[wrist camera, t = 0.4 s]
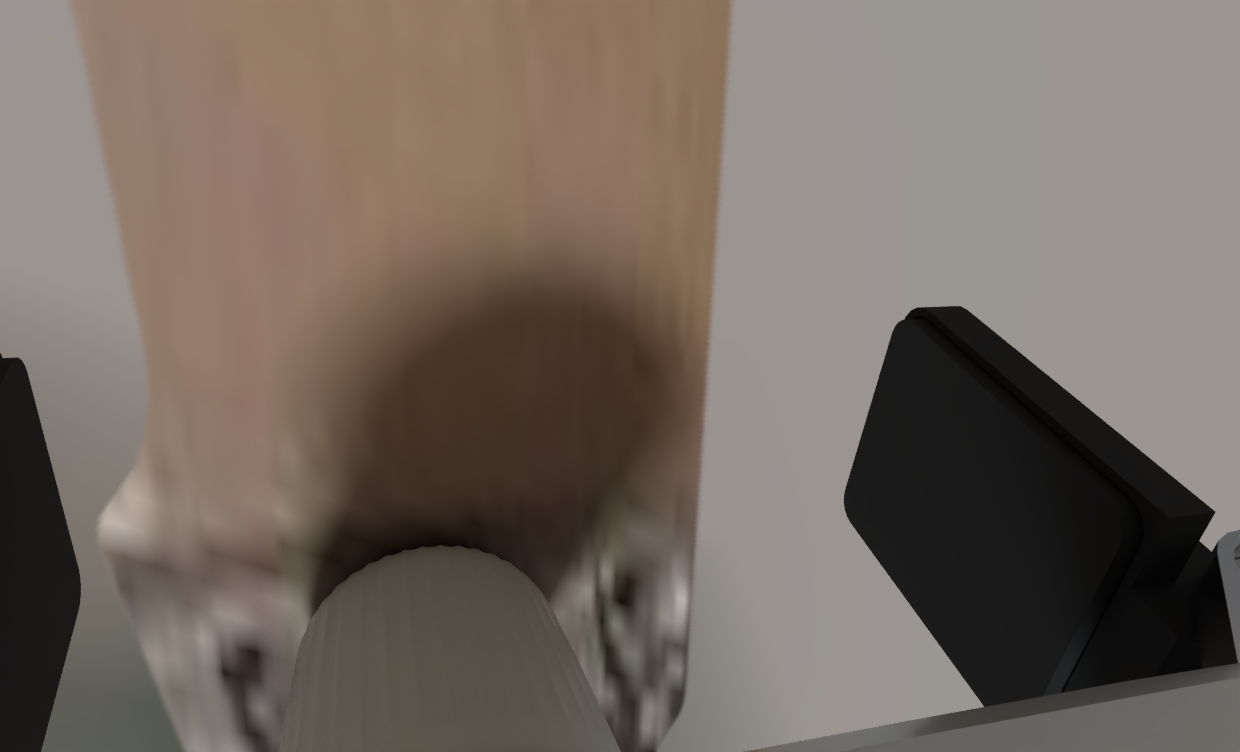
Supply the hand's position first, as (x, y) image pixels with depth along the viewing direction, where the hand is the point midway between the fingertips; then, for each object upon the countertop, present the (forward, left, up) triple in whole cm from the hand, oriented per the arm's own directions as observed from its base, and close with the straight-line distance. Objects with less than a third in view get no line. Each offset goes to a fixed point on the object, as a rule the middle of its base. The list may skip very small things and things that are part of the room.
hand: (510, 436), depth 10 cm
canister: (+33, +6, -30) cm, 46 cm away
